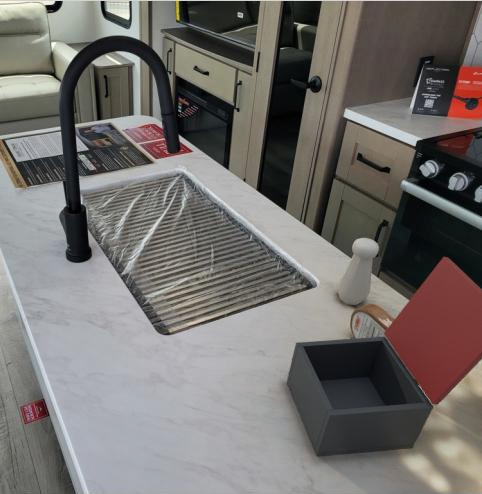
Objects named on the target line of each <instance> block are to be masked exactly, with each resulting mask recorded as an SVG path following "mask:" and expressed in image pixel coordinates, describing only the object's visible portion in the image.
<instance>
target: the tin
mask: <svg viewBox="0 0 482 494" xmlns="http://www.w3.org/2000/svg"><path fill="white" fill-rule="evenodd" d="M395 318H396V317H394V316H392V315H391V314H390V313H389V312H388V311H387V310H385V309H384V308H383V307H382V306H381V305H378V304H376V303H366V304H364V305H363V306H360V307H358V308H355V309H354V310H353V311H352V313H351V316H350V322H349V323H350V324H349V325H350V326H349V327H350V331H351V334H352V337H353V339H356V338H370V337H385V338H386V336H385V335H384V332H385V331H386V330H387V329H388V327H389V326H390V325H391V324H392V322H393V321H394V320H395ZM386 339H387V338H386ZM387 341H388V339H387ZM388 342H389V341H388ZM389 343H390V342H389ZM390 345H391V343H390ZM391 346H392V345H391ZM392 348H393V346H392ZM393 349H394V348H393ZM394 351H395V349H394ZM395 352H396V351H395ZM396 353H397V352H396ZM397 355H398V354H397ZM398 356H399V355H398ZM399 358H400V356H399ZM400 359H401V358H400ZM401 361H402V359H401ZM402 362H403V361H402ZM403 364H404V362H403ZM404 365H405V364H404ZM405 366H406V365H405ZM406 368H407V367H406ZM407 369H408V368H407ZM408 371H409V369H408ZM409 372H410V371H409ZM410 374H411V372H410ZM411 375H412V374H411ZM412 377H413V375H412ZM413 378H414V377H413ZM414 380H415V381H416V379H415V378H414ZM416 382H417V381H416ZM417 384H418V382H417ZM418 385H419V384H418ZM419 386H420V385H419Z"/></svg>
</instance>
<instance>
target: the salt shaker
mask: <svg viewBox="0 0 482 494" xmlns="http://www.w3.org/2000/svg"><path fill="white" fill-rule="evenodd" d="M351 249H352V253H353V255H352V257H351V259H350V260H349V262H348V265H347V266H346V268H345V270H344V272H343V273H342V275H341V277H340V279H339V280H338V282H337V284H336V288H337V289H336V290H337V294H338V299H340V300H341V301H342V302H343V303H344V304H346V305H350V306H351V305H352V306H358V305H359V304H360V303H362V302H363V301H365V300H367V298H368V297H369V295H370V293H371V283H372V272H373V259H374V258H376V256H377V255H378V254H379V251H380V247H379V244H378V243H377V242H376V241H375V240H373V239H371V238H368V237H360V238H357V239H355V240H354V242H353V243H352V247H351Z"/></svg>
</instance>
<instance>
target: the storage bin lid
mask: <svg viewBox="0 0 482 494" xmlns="http://www.w3.org/2000/svg"><path fill="white" fill-rule="evenodd" d="M394 318H395V320H394V321H393V322H392V324H391V325H390V326H389V327H388V329H387V330H386V331H385V332H384V335H385V336H386V338H387V339H388V341H389V342H390V343H391V345H392V346H393V348H394V349H395V351H396V352H397V354H398V355H399V356H400V358H401V359H402V361H403V362H404V364H405V365H406V367H407V368H408V369H409V371H410V372H411V374H412V375H413V377H414V378H415V379H416V381H417V382H418V384H419V387H420V388H421V390H422V391H423V393H424V394H425V395H426V397H427V398H428V400H429V401H430V403H431V404H432V405H435V406H438V405H439V404H440V403H441V402H442V401H443V400H444V399H445V398H446V397H447V396H448V395H449V394H450V393H451V392H453V390H454V389H455V388H456V387H457V386H458V384H460V383H461V381H462V380H463V379H464V378H465V377H466V376H468V374H469V373H471V371H472V370H473V369H475V367H476V366H477V365H478V364H479V363H480V362H481V361H482V288H481V287H480V286H479V285H478V284H476V283H475V281H474V280H472V278H470V277H469V276H468V275H467V274H466V273H465V272H464V271H463V270H462V269H461V268H460V267H459V266H458V265H457V264H456V263H455V262H453V260H451V259H450V258H449V257H447V256H443V257H442V258H441V259H440V260H439V262H438V263H437V264H436V266H435V267H434V268H433V270H432V271H431V272H430V273H429V275H428V276H427V277H426V278H425V280H424V281H423V282H422V284H421V285H420V287H419V288H418V289H417V290H416V292H415V293H414V294H413V295H412V296H411V298H410V299H409V300H408V302H407V303H406V304H405V306H404V307H403V308H402V309H401V311H399V313H398V315H397V316H396V317H394Z"/></svg>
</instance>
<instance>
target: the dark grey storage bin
mask: <svg viewBox="0 0 482 494" xmlns="http://www.w3.org/2000/svg"><path fill="white" fill-rule="evenodd" d="M286 385H287V387H288V390H289V392H290V395H291V397H292V399H293V402H294V404H295V407H296V409H297V412H298V414H299V416H300V419H301V422H302V424H303V427H304V429H305V431H306V435H307V436H308V439H309V441H310V443H311V447H312V448H313V451H314V454H315V456H316V457H325V456H337V455H346V454H347V455H349V454H358V453H372V452H381V451H392V450H393V451H394V450H403V449H404V450H405V449H413V448H414V446H415V444H416V442H417V440H418V438H419V436H420V434H421V432H422V430H423V429H424V426H425V425H426V423H427V421H428V419H429V417H430V415H431V413H432V411H433V409H434V406H433V404H432V403H431V401H430V400H429V398H428V397H427V395H426V394H425V392H424V391H423V390H422V388H421V387H420V385H418V384H417V382H416V381H415V380H414V378H413V377H412V375H411V374H410V372H409V371H408V369H407V368H406V366H405V365H404V364H403V362H402V361H401V359H400V358H399V356H398V355H397V353H396V352H395V351H394V349H393V348H392V346H391V345H390V343H389V342H388V341H387V339H386V338H385V337H370V338H356V339H354V338H343V339H329V340H314V341H301V342H300V341H299V342H295V345H294V350H293V354H292V358H291V362H290V367H289V371H288V375H287V379H286Z"/></svg>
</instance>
